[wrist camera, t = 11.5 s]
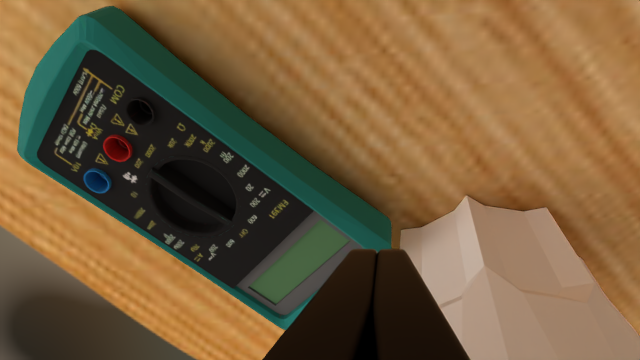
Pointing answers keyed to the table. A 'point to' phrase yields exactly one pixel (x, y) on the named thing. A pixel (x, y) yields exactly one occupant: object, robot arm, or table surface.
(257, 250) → the digital multimeter
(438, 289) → the cup
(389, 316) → the robot arm
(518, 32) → the table surface
